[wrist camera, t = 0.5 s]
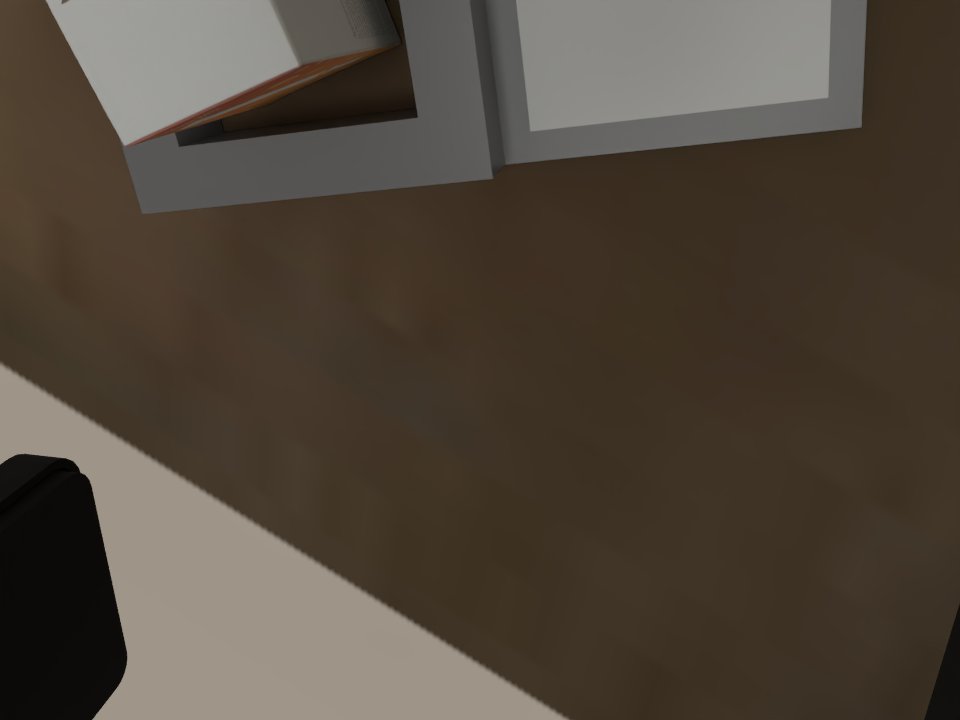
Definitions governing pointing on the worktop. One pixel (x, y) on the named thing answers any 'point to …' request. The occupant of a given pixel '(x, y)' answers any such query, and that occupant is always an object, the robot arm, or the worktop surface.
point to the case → (539, 97)
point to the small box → (212, 54)
